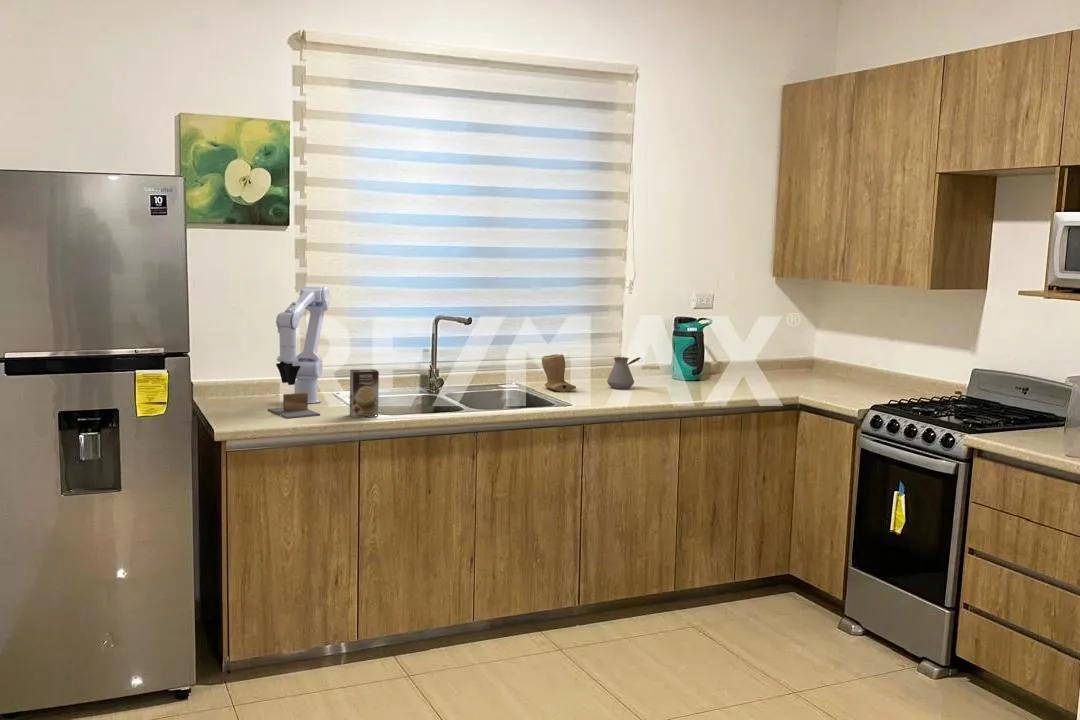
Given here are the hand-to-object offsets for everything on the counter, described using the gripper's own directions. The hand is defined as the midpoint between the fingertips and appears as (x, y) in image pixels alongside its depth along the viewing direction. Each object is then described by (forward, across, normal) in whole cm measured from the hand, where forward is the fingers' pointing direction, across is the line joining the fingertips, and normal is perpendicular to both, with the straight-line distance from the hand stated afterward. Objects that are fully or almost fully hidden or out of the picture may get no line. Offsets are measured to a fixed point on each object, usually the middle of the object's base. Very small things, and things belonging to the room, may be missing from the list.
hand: (288, 383), depth 359 cm
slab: (+9, +6, 0) cm, 11 cm away
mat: (+9, +7, -1) cm, 12 cm away
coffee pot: (+10, +26, +138) cm, 141 cm away
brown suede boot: (+10, +12, +112) cm, 113 cm away
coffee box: (+10, +24, +18) cm, 31 cm away
